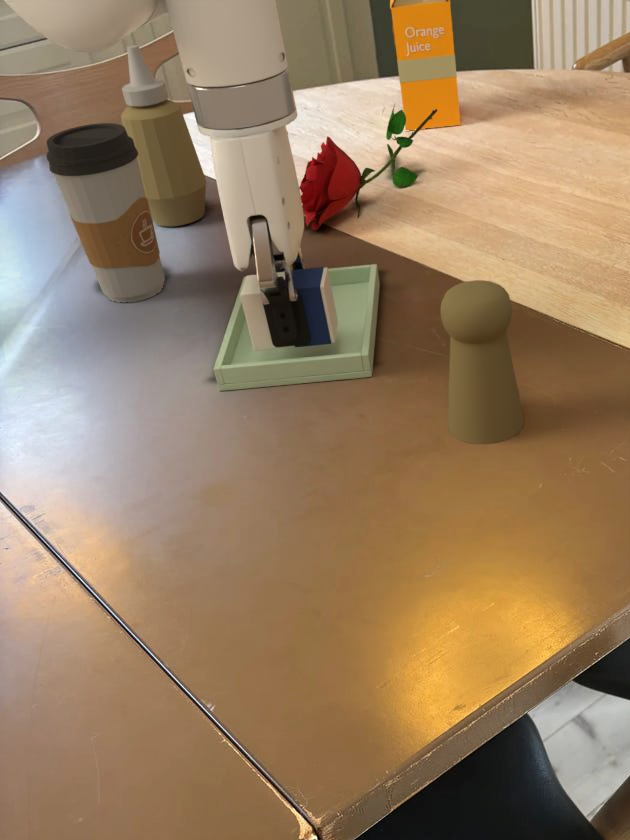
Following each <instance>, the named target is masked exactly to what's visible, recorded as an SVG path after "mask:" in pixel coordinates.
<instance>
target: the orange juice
mask: <svg viewBox="0 0 630 840" xmlns="http://www.w3.org/2000/svg"><path fill="white" fill-rule="evenodd" d="M451 4H452V3H451V0H389V9H390V10H391V11H390V12H391V20H392V32H393V36H392V37H393V40H394V41H393V42H394V45H395V51H396V53H395V54H396V61H397V70H398V71H397V72H398V79H399V85H400V92H401V93H400V94H401V101H402V110H403V112H404V114H405V116H406V124H405V126H404V128H405V131H406V130H414V131H415V129H417V128H418V127H419V126H420V125H421V124H422V122H423V121H424V120H425V119H426V118H427V117H428V116H429V115H430V114H431V113H432V111H433V110H435V109H437V112H436V113H435V114H434V115H433V116H432V118H433V119H429V120H428V121H427V123H426V124H425V125H424V126H423V127H422V128H421V129H423V130H425V129H424V128H433V127H442V128H444V127H443V126H452V125H461V112H460V101H459V91H458V80H457V79H458V78H457V64H456V63H457V62H456V54H455V43H454V30H453V26H454V25H453V16H452V11H451V9H452V8H451ZM452 127H453V126H452ZM433 129H434V128H433Z"/></svg>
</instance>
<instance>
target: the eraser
mask: <svg viewBox="0 0 630 840" xmlns="http://www.w3.org/2000/svg"><path fill="white" fill-rule="evenodd" d="M328 269H329V268H328V267H327V266H325V267H324V266H318V267H317V266H316V267H309V268H305V269H298V270H293V273H294V279H295V284H296V290H297V296H302V300H303V305H304V310H305V314H306V319H307V324H308V328H309V333H310V342H309V344H306V345H296V346H286V347H275V346H274V345H273V344H272V340H271V336H270V332H269V327H268V323H267V319H266V315H265V311H264V307H263V301H262V297H261V292H260V287H259V283H258V276H257V274H250V275H246V276H245V277H246V279H245V282H244V285H243V288H242V291H241V294H240V297H241V301H242V305H243V309H244V312H245V316H246V320H247V324H248V328H249V332H250V336H251V340H252V343H253V347H254V350H255V351H257V350H267V349H277V348H287V347H305V346H315V345H325V344H331V343H335V339H336V332H337V326H338V319H337V314H336V309H335V304H334V298H333V293H332V288H331V283H330V278H329V273H328ZM277 275H278V277H281V276H282V277H283V278H284V280H286V278H285V273H284V272H277Z"/></svg>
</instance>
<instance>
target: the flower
mask: <svg viewBox="0 0 630 840" xmlns="http://www.w3.org/2000/svg"><path fill="white" fill-rule="evenodd" d="M395 106H396V103H394V105H393V108H392V110H391V113H390V116H389V119H388V124H387V128H386V140H387V141H390V140H391V139H392V140H393V141H396V143H397V145H399V146H398V148H396V149H395V151H394V150H393V148H392V146H391V145H390V144H389V143H387V144H386V147H387V150H388V154H389V158H390V159H389V160H388V161H387V163H386V164H385V165H384V166H383V167H382V168H381V169H380V170H379V171H378V172H376V170H375V169H373V168H370V167H365V168H364V169H363V171H362V173H361V171H360V169H359V167H358V164H357V163H356V162H355V161H354V159H353V158H351V157H350V155H348V154H347V153H346V152H345V151H344V150H343V149H342V148H340V147H339V146H338V145H337V144H336V143H335V141H333V139H332V138H331V137H330V136H326V139H325V141H326V142H324V141H323V142H322V143H321V144H320V149H321V151H320V152H317V154H316V158H314V157H313V156H311V160H309V161H308V162H307V164H306V166H305V167H306V168H305V171H304V175H303V178H302V180H301V182H300V185H299V190H300V193H301V194H300V196H301V201H302V208H303V215H305V224H306V227H308V226H309V225H310V224H311V222H312V224H311V226H310V227H311V230H313V231H317V230H318V229H319V228H320V227H321V226H322V224H323V223H324V222H325V221H326V220H328V219H330V218H332V217H333V216H334V215H336V214H338V213H339V212H341V210H343V209H344V208H345V207H346V206H348V204H349V203H350V202H351V201H352V200H353V198H354V202H355V206H356V207H357V209H358V211H357V218H359V216H360V214H361V209H362V205H361V204H360V202H359V195H360V191H361V189H362V188H364V187H365V185H366V184H368V183H371V182H373V181H374V180H375V179H376V178H378V177H379V176H380V175H382V174H383V173H384V172H385V171H386V170H387V168H388V167H390V166H391V177H392V184H393V185H394V186H395V187H397V188H399V189H401V188H400V187H402V188H406V187H405V186H407V187H409V186H408V185H410V186H412V185H413V184H414V183H415V182H416V180H417V179H418V177H419V175H418V174H417V173H415V172H413V171H412V170H410V169H408V168H407V167H404V166H400V167H398V168H397V169H396V159H397V156H398V154H400V152H401V151H402V149H406V148H409V147H411V146H412V144H413V142H414V139H413V138H414V137H415V136H416V135H417V134H418V133H419V132H420V131H421V130H420V129H421V128H422V127H423V126H424V125H425V124H426V123H427V121H428V120H429V119H433V118H432V116H433V115H434V114H435V113H436V112H437V109H435V110H433V111H432V113H431V114H430V115H429V116H428V117H427V118H426V119H425V120H424V121H423V122H422V124H421V125H420V126H419V127H418V128H417V129H416V130H414V131H411V134H410V135H409V136H408V137H407V136H398V135H401V134H402V133H403V131H404V129H405V124H406V116H405V114H404V111H403V109H400V110H398V111H397V112H395ZM393 135H394V136H393ZM396 135H397V136H396ZM392 136H393V137H394V138H393V137H392ZM395 169H396V171H395ZM375 172H376V173H375ZM372 173H375V174H373V175H372V176H371V177H370V178H368V179H366V178H367V177H368V176H370V174H372ZM411 184H412V185H411Z"/></svg>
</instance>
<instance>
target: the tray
mask: <svg viewBox="0 0 630 840" xmlns="http://www.w3.org/2000/svg"><path fill="white" fill-rule="evenodd" d="M328 273H329V278H330V283H331V288H332V293H333V298H334V304H335V309H336V314H337V319H338V326H337V332H336V339H335V343H331V344H325V345H315V346H305V347H287V348H277V349H267V350H257V351H255V350H254V347H253V343H252V340H251V336H250V332H249V328H248V324H247V320H246V316H245V312H244V309H243V305H242V301H241V297H240V294H241V291H242V288H243V285H244V282H245V279H246V276H243V279H242V281H241V284H240V287H239V291H238V294H237V297H236V299H235V302H234V306H233V309H232V312H231V315H230V318H229V321H228V324H227V327H226V330H225V332H224V336H223V338H222V343H221V345H220V348H219V351H218V354H217V356H216V357H217V358H216V360H215V363H214V367H213V373H214V376H215V380H216V384H217V387H218V390H219V392H224V391H225V392H226V391H236V390H246V389H257V388H269V387H280V386H288V385H300V384H310V383H311V384H312V383H320V382H321V383H322V382H332V381H341V380H342V381H343V380H353V379H364V378H373V370H374V358H375V346H376V334H377V323H378V312H379V311H378V310H379V301H380V300H379V299H380V298H379V297H380V287H381V283H380V276H379V269H378V264H377V263H373V264H363V265H352V266H342V267H331V268H328Z"/></svg>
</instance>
